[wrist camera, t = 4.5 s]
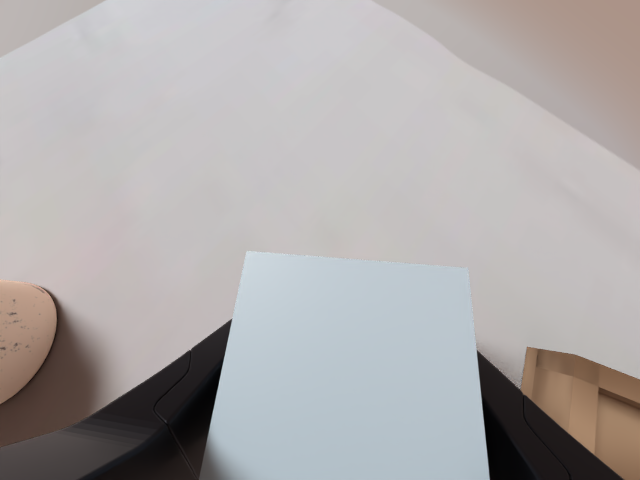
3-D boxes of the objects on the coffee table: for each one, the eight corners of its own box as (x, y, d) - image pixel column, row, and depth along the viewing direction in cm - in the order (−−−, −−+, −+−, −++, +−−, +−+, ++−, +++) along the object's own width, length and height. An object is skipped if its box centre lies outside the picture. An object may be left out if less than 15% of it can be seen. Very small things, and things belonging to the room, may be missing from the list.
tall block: (385, 384, 14) (497, 559, 4) (296, 372, 14) (196, 495, 4) (386, 299, 15) (467, 267, 5) (305, 291, 16) (246, 250, 6)
